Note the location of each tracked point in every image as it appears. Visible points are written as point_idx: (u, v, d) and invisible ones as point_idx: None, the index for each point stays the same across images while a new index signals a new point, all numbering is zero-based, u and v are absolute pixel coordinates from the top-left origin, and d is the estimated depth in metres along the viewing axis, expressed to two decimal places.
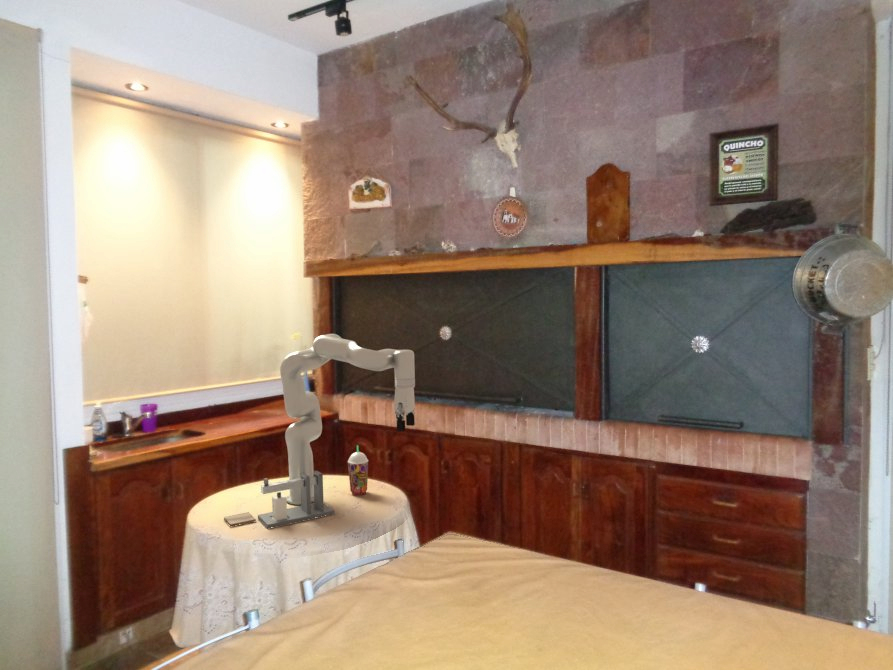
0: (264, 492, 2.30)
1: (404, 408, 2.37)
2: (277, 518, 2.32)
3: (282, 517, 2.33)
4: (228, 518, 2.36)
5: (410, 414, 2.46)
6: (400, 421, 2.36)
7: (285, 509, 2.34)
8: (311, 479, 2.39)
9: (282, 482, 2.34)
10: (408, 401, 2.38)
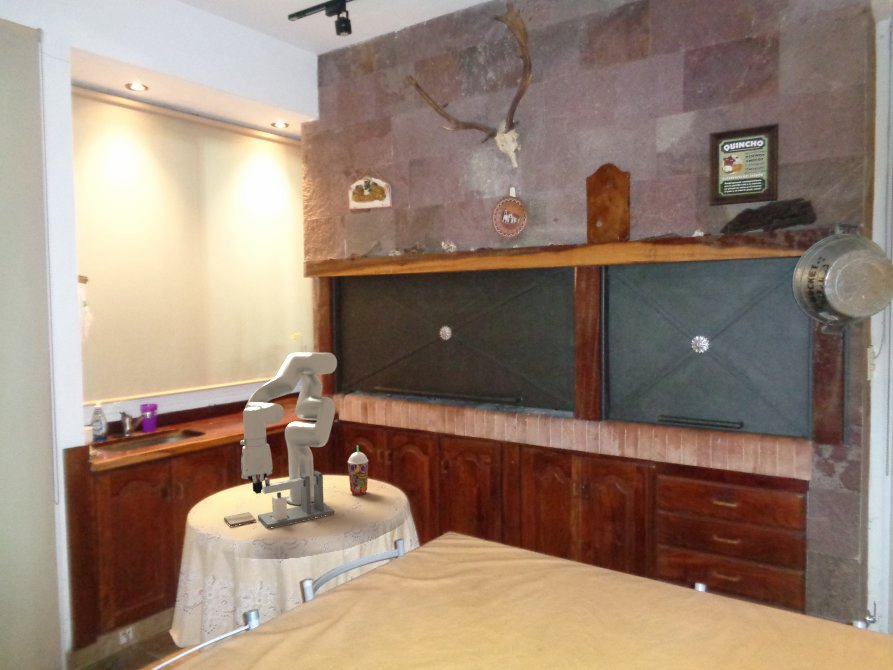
0: (265, 492, 2.30)
1: None
2: (277, 518, 2.32)
3: (282, 517, 2.33)
4: (228, 518, 2.36)
5: None
6: None
7: (285, 509, 2.34)
8: (312, 479, 2.39)
9: (283, 482, 2.35)
10: None
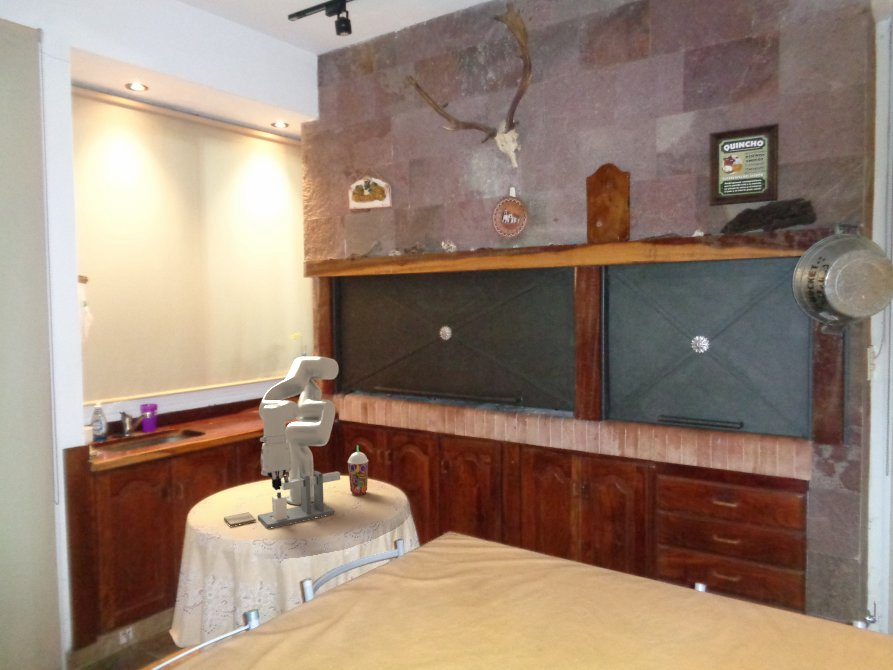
0: (284, 488, 2.34)
1: None
2: (277, 518, 2.32)
3: (282, 517, 2.33)
4: (228, 518, 2.36)
5: None
6: None
7: (285, 509, 2.34)
8: (330, 476, 2.43)
9: (302, 478, 2.38)
10: None
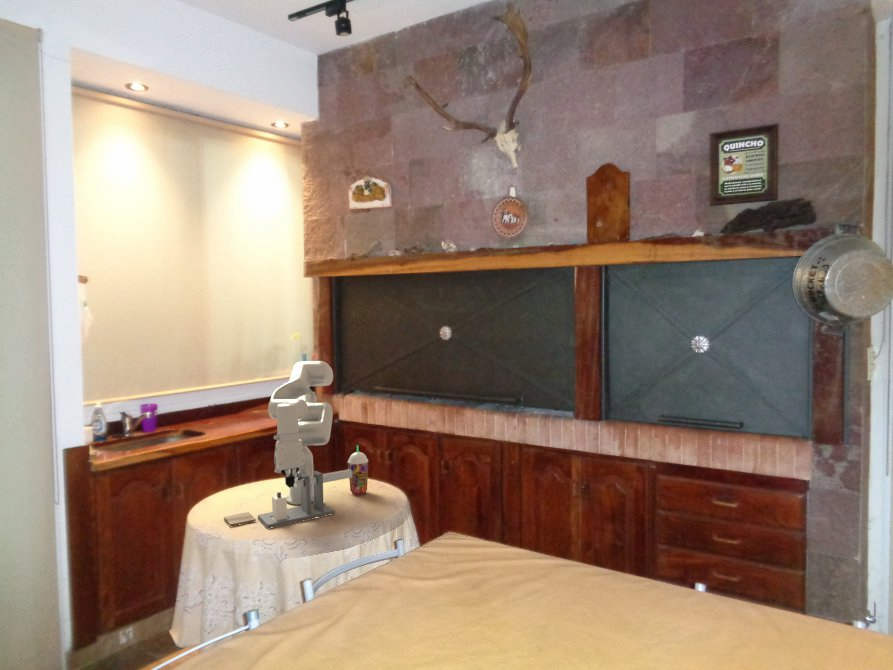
0: (297, 486, 2.36)
1: None
2: (277, 518, 2.32)
3: (282, 517, 2.33)
4: (228, 518, 2.36)
5: None
6: None
7: (285, 509, 2.34)
8: (342, 473, 2.46)
9: (314, 476, 2.41)
10: None
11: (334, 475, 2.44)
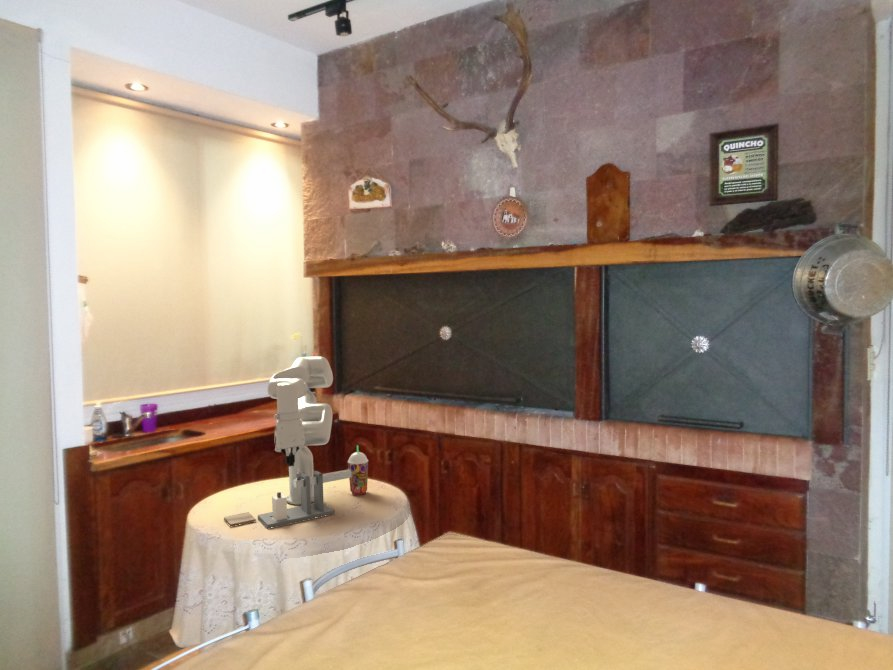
0: (297, 486, 2.36)
1: None
2: (277, 518, 2.32)
3: (282, 517, 2.33)
4: (228, 518, 2.36)
5: None
6: None
7: (285, 509, 2.34)
8: (341, 473, 2.46)
9: (314, 476, 2.41)
10: None
11: (333, 475, 2.44)
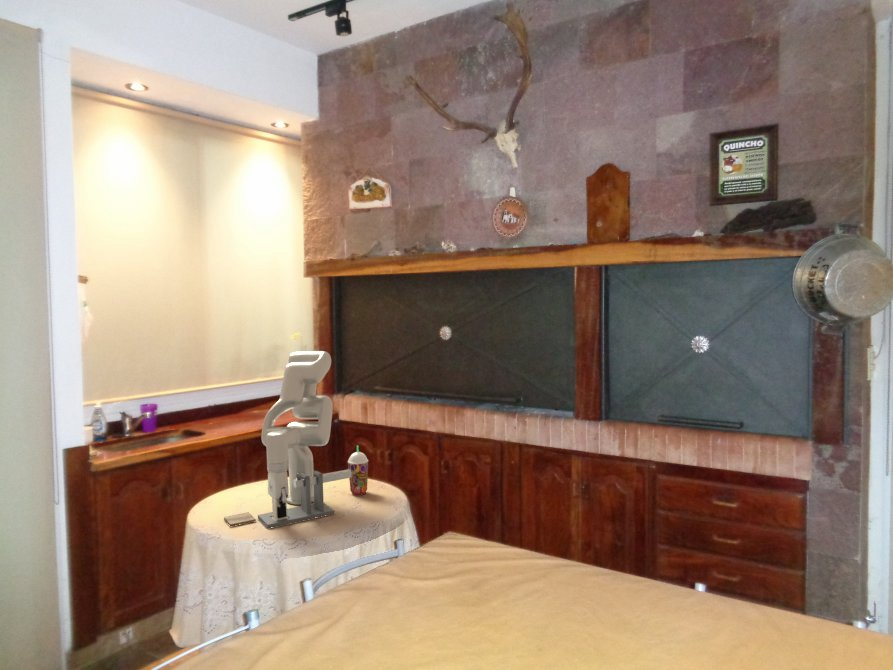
0: (297, 486, 2.36)
1: (287, 495, 2.31)
2: (277, 518, 2.32)
3: None
4: (228, 518, 2.36)
5: None
6: (283, 507, 2.32)
7: None
8: (341, 473, 2.46)
9: (314, 476, 2.41)
10: None
11: (333, 475, 2.44)
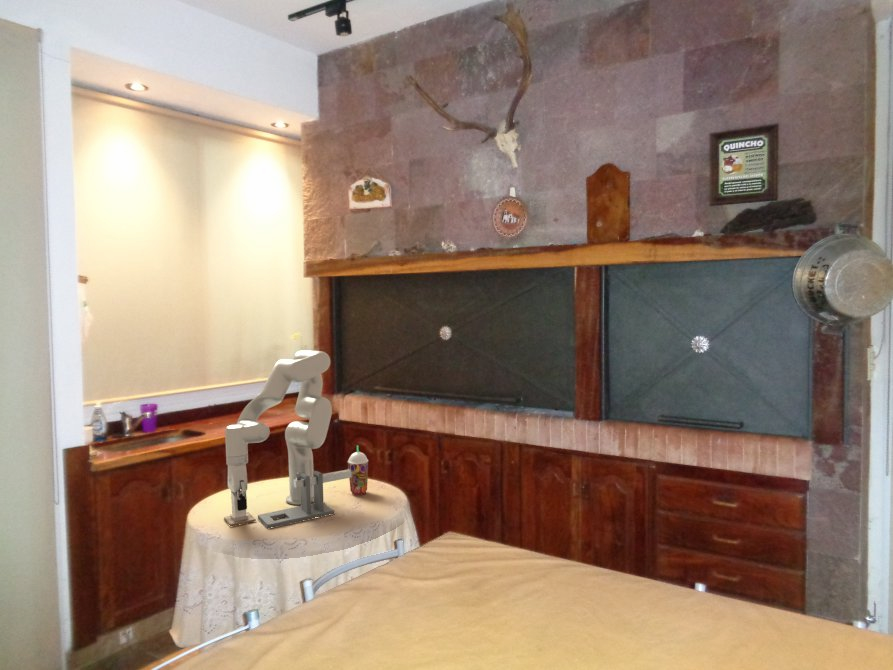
0: (297, 486, 2.36)
1: (246, 486, 2.32)
2: (236, 515, 2.33)
3: (241, 514, 2.34)
4: (228, 518, 2.36)
5: None
6: (243, 500, 2.31)
7: None
8: (341, 473, 2.46)
9: (314, 476, 2.41)
10: None
11: (333, 475, 2.44)
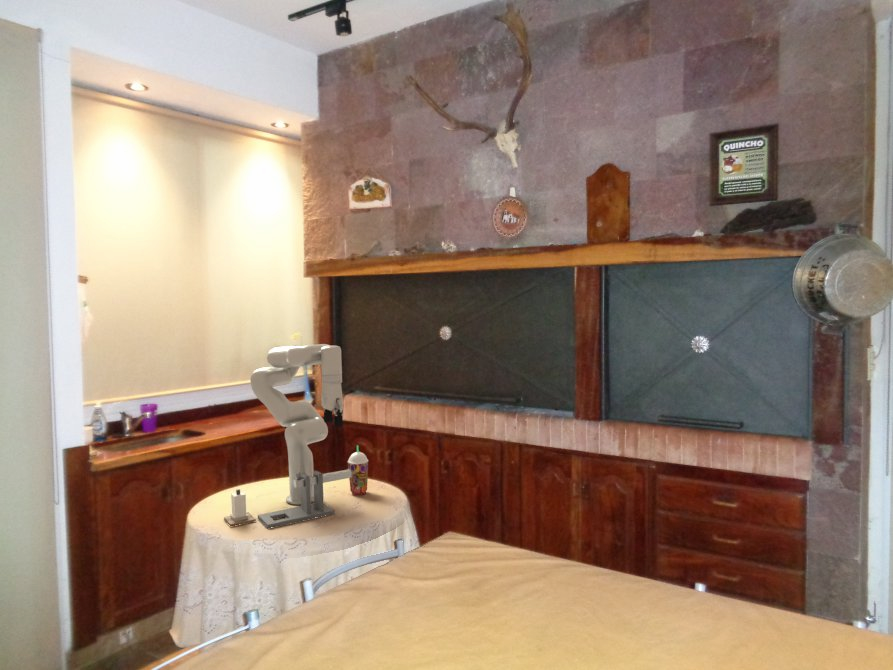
0: (297, 486, 2.36)
1: (341, 403, 2.38)
2: (236, 515, 2.33)
3: (241, 514, 2.34)
4: (228, 518, 2.36)
5: (328, 410, 2.46)
6: (339, 416, 2.37)
7: (244, 506, 2.35)
8: (341, 473, 2.46)
9: (314, 476, 2.41)
10: None
11: (333, 475, 2.44)
